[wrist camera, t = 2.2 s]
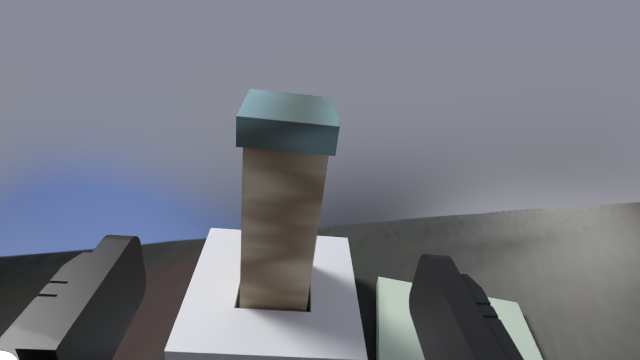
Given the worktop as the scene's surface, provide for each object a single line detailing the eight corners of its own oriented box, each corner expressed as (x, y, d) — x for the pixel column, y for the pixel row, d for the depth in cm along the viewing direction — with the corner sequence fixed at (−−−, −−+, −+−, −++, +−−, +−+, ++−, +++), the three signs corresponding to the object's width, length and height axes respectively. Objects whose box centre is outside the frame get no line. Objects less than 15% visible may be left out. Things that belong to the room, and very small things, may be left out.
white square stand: (169, 393, 22) (164, 351, 20) (211, 264, 32) (211, 227, 31) (356, 400, 23) (367, 360, 21) (340, 272, 34) (347, 238, 32)
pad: (376, 425, 22) (379, 416, 22) (376, 285, 33) (378, 276, 32) (580, 469, 21) (588, 460, 21) (512, 310, 32) (517, 302, 31)
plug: (233, 348, 25) (236, 116, 17) (244, 294, 30) (250, 88, 22) (304, 352, 26) (339, 126, 18) (304, 298, 30) (332, 97, 22)
